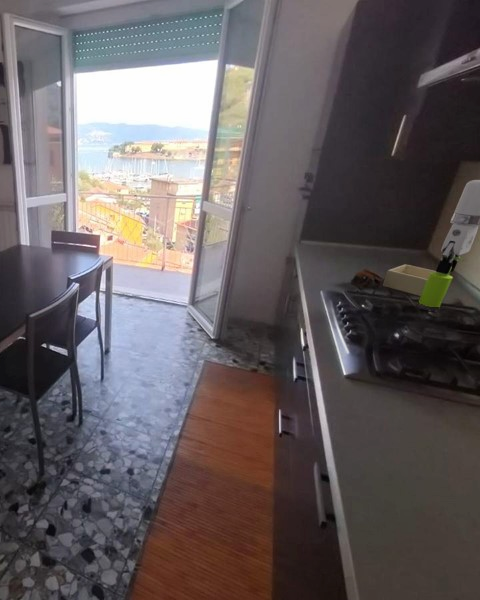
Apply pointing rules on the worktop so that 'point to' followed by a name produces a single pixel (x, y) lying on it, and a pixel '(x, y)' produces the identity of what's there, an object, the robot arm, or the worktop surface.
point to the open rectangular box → (407, 279)
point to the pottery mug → (365, 279)
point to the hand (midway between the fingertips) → (444, 271)
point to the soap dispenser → (436, 288)
